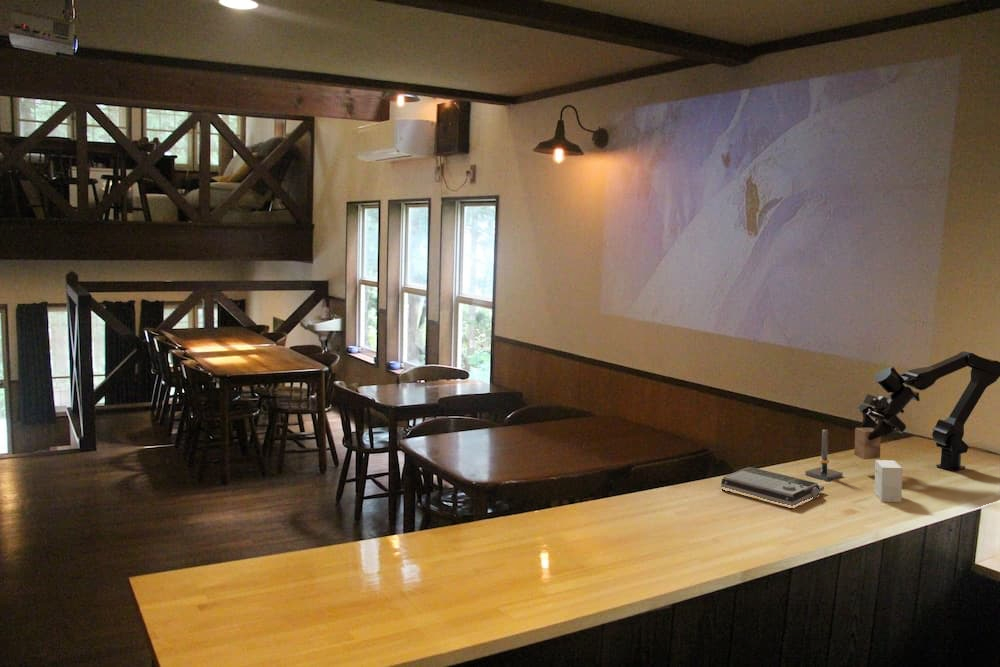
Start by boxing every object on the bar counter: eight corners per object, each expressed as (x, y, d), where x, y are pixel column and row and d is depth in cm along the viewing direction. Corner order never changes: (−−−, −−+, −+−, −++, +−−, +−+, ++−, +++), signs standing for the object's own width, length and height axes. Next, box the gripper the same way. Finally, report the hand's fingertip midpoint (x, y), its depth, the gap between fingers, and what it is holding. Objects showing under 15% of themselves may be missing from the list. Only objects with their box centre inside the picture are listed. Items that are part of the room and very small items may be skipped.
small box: (901, 502, 230) (903, 468, 228) (881, 502, 231) (882, 467, 230) (893, 493, 238) (895, 460, 236) (873, 493, 239) (875, 459, 237)
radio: (720, 475, 244) (756, 461, 257) (720, 491, 245) (756, 477, 257) (794, 494, 225) (828, 478, 238) (793, 511, 226) (827, 495, 239)
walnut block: (870, 453, 260) (870, 426, 258) (880, 458, 254) (880, 431, 253) (854, 454, 259) (855, 428, 258) (864, 459, 254) (864, 432, 252)
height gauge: (821, 470, 262) (822, 425, 260) (842, 476, 255) (843, 430, 253) (805, 474, 257) (806, 429, 255) (826, 481, 251) (828, 434, 249)
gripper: (864, 380, 263) (832, 414, 263) (898, 391, 245) (864, 428, 245) (885, 401, 265) (853, 435, 265) (920, 414, 247) (886, 451, 247)
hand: (863, 437), depth 256 cm, fingers closed on walnut block, 5 cm apart
